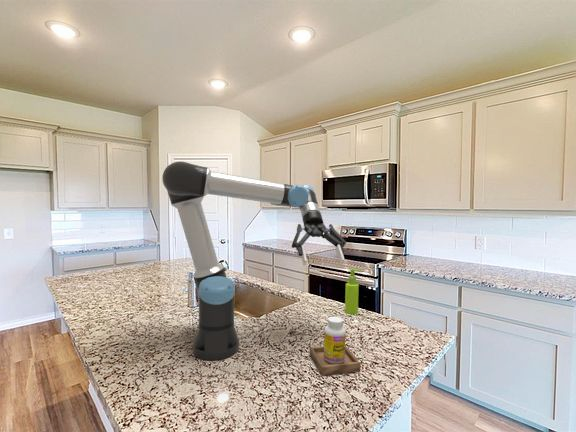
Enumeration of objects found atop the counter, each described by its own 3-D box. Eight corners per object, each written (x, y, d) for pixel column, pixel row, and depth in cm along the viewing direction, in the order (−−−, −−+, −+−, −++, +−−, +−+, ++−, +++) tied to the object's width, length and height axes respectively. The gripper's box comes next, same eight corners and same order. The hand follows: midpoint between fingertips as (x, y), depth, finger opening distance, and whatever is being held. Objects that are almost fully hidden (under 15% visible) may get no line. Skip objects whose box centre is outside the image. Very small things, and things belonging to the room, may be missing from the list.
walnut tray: (322, 375, 86) (322, 367, 86) (309, 354, 97) (309, 347, 97) (360, 371, 88) (360, 363, 88) (343, 351, 100) (343, 344, 100)
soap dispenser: (360, 315, 133) (361, 271, 132) (344, 313, 134) (346, 270, 133) (360, 310, 139) (361, 268, 138) (345, 309, 140) (346, 267, 139)
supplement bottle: (331, 367, 89) (332, 325, 88) (319, 356, 94) (320, 317, 94) (349, 362, 92) (350, 321, 91) (336, 352, 97) (337, 313, 97)
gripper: (338, 223, 122) (353, 267, 108) (279, 223, 116) (287, 269, 102) (344, 210, 116) (361, 255, 102) (282, 209, 110) (291, 257, 96)
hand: (324, 262), depth 102 cm, fingers open, 13 cm apart
